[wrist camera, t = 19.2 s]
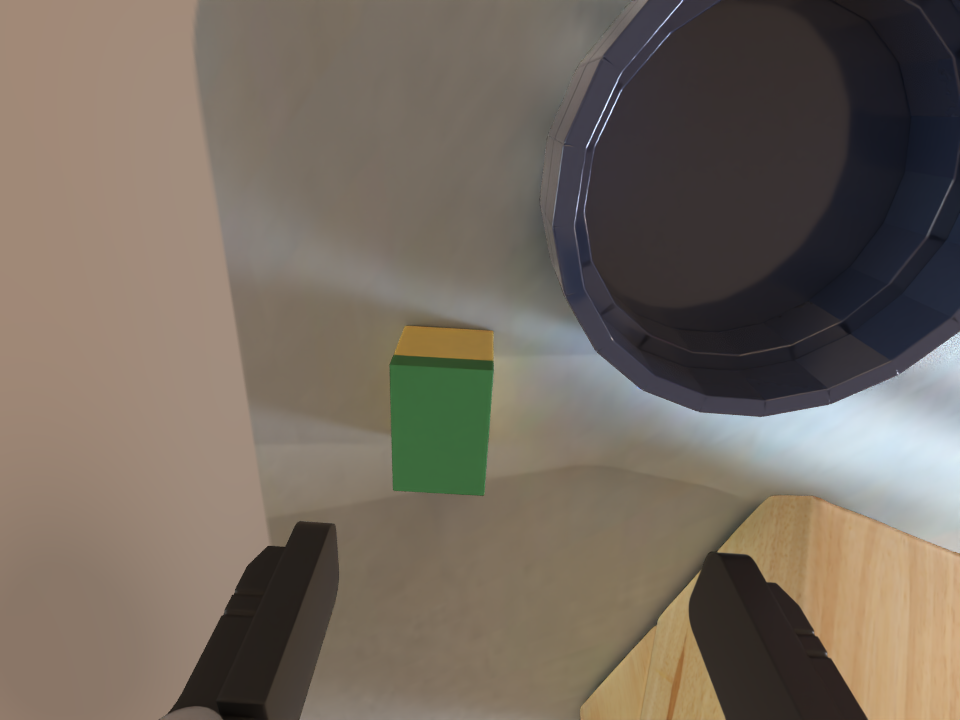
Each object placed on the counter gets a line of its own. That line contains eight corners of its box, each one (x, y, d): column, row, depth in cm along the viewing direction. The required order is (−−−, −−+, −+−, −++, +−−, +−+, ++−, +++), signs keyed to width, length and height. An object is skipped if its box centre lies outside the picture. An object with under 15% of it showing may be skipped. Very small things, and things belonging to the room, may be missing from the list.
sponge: (404, 324, 26) (389, 364, 22) (493, 330, 26) (493, 370, 22) (406, 438, 29) (392, 491, 25) (485, 443, 29) (484, 496, 25)
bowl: (570, -74, 19) (601, -146, 13) (1016, -36, 19) (1224, -91, 14) (520, 339, 26) (528, 400, 21) (841, 363, 26) (930, 429, 21)
